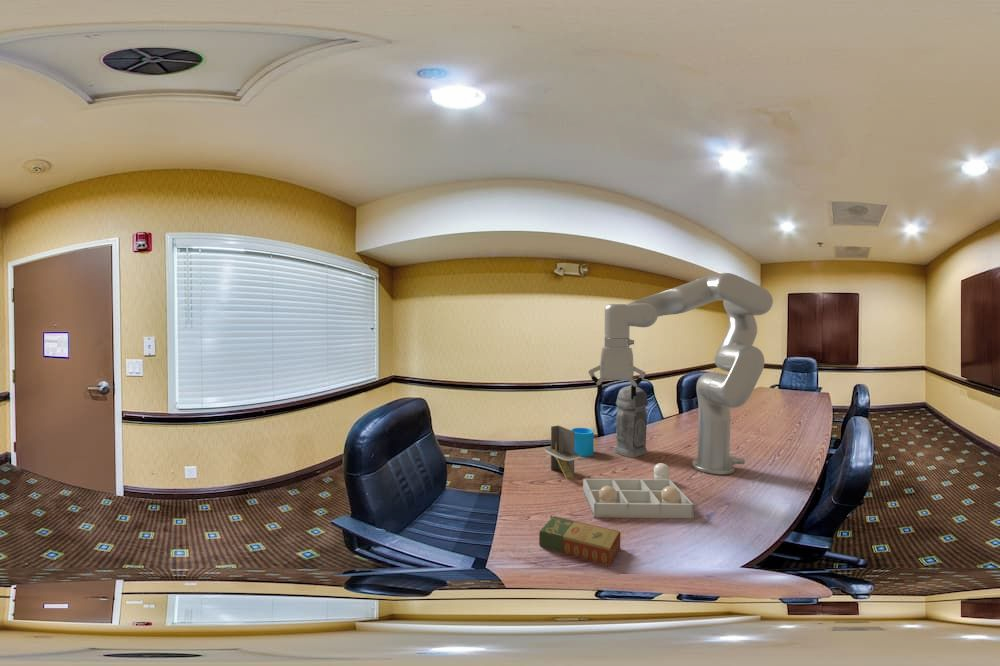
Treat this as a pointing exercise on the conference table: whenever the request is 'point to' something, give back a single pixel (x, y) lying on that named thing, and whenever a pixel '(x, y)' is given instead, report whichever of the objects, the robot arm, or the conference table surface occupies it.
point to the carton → (580, 540)
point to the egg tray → (636, 499)
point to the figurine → (631, 423)
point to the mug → (584, 441)
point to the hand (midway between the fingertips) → (616, 397)
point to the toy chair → (562, 450)
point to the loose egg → (661, 471)
